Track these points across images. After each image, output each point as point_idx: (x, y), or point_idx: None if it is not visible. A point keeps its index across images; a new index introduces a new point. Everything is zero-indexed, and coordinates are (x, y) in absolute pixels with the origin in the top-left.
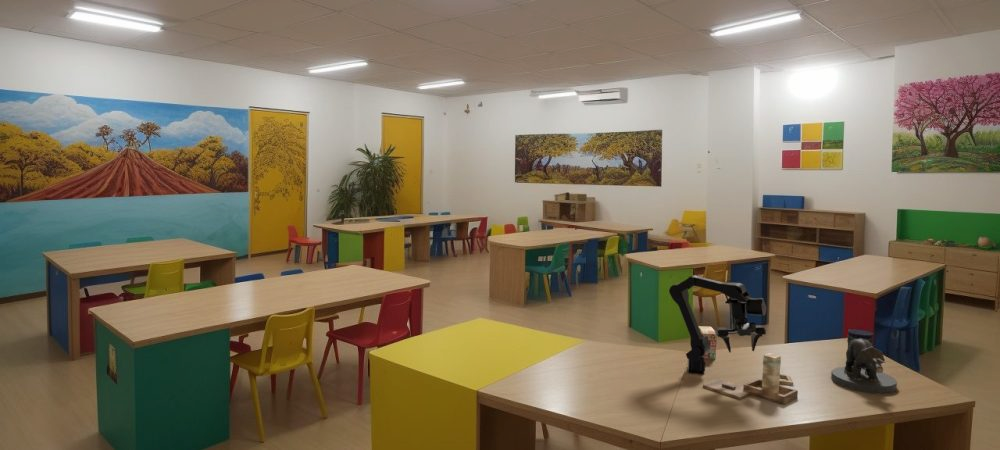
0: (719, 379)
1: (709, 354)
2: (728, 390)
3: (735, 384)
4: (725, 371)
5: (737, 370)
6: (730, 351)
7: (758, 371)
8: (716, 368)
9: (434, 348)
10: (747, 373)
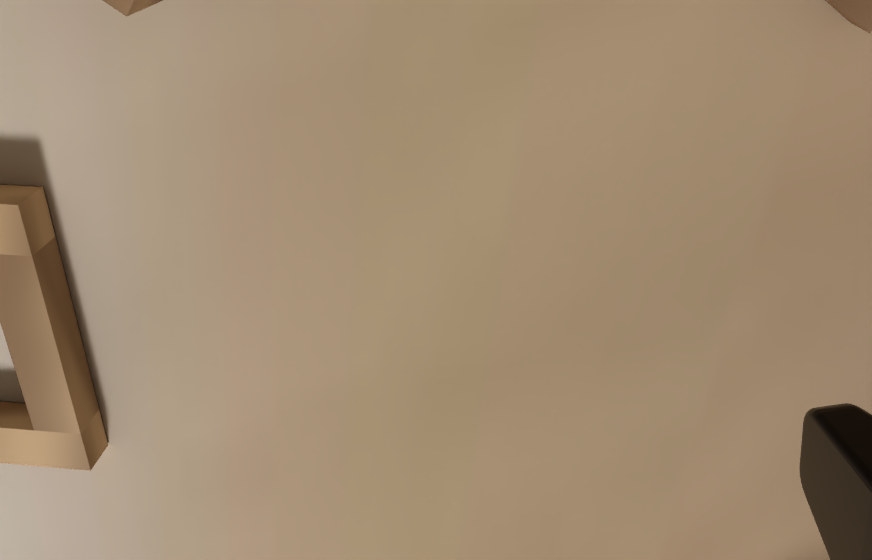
0: (852, 2)
1: None
2: None
3: None
4: (605, 470)
5: (441, 526)
6: (846, 427)
7: (198, 536)
8: (704, 543)
9: None
10: (325, 457)
